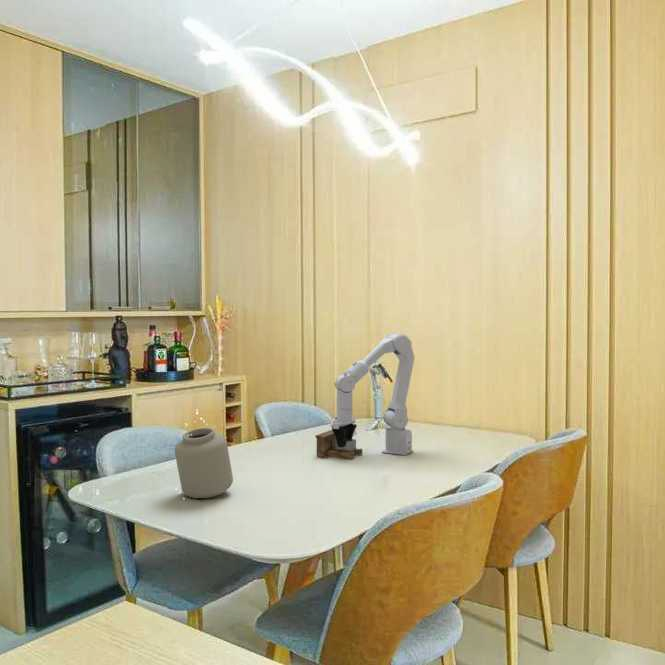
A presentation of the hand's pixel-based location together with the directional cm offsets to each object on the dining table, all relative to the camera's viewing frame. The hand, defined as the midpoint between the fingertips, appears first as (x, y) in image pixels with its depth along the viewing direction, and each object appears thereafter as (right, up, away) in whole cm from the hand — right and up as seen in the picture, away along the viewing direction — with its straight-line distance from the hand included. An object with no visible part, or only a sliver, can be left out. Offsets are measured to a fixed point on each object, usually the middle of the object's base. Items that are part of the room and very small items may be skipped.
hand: (344, 445), depth 240 cm
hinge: (0, -3, +35) cm, 35 cm away
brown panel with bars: (-1, -4, +1) cm, 4 cm away
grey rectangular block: (0, -4, 0) cm, 4 cm away
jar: (-42, -6, -51) cm, 67 cm away
